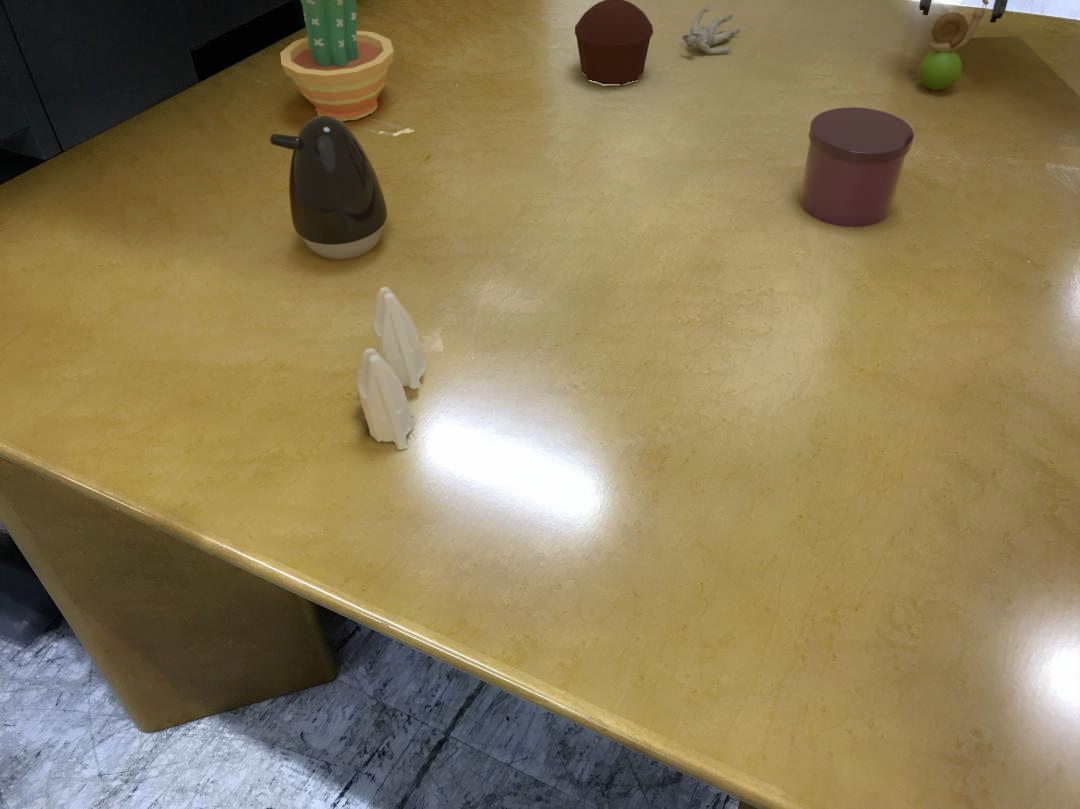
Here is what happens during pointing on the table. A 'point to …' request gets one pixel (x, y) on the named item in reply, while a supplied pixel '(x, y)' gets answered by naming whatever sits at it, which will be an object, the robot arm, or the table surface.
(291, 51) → the potted cactus
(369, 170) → the pump dispenser
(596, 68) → the muffin
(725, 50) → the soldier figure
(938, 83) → the snail figurine
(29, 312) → the table surface
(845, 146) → the jar
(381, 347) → the shaker set
